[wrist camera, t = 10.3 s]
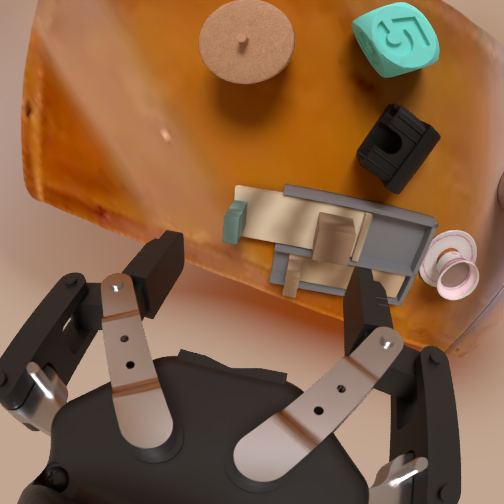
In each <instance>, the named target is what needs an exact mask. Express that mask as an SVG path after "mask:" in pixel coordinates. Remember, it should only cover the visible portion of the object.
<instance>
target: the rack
mask: <svg viewBox="0 0 504 504" xmlns="http://www.w3.org/2000/svg"><path fill="white" fill-rule="evenodd" d="M283 195H288V196H294V197H299V198H305V199H310V200H315V201H320V202H325V203H330V204H335V205H340V206H345V207H350V208H354V209H359V210H364V211H368V212H371V213H372V220H371V223H370V226H369V229H368V232H367V236H366V239H365V242H364V245H363V248H362V251H361V254H360V257H359V260H358V262H356V261H352V259H351V257H350V258H349V261H348V265H353V266H359V267H364V268H369V269H374V270H379V271H384V272H390V273H395V274H400V275H405V276H406V277H405V279H404V281H403V284H402V286H401V288H400V290H399V292H398V294H397V296H396V298H393V297H387V300H388V304H392V305H397V306H401V305H402V303H403V301H404V299H405V297H406V295H407V293H408V291H409V289H410V287H411V285H412V283H413V281H414V279H415V277H416V275H417V273H418V271H419V269H420V267H421V264H422V262H423V260H424V258H425V256H426V253H427V251H428V249H429V246H430V244H431V242H432V239H433V237H434V234H435V232H436V229H437V227H438V223H437V221H436V220H435V218H434V217H432V216H428V215H425V214H421V213H417V212H413V211H410V210H406V209H402V208H398V207H394V206H390V205H386V204H381V203H377V202H373V201H369V200H364V199H360V198H355V197H351V196H346V195H341V194H336V193H331V192H327V191H321V190H316V189H311V188H306V187H300V186H295V185H289V184H285V187H284V191H283ZM274 251H275V253H274V259H273V265H272V271H271V276H270V280H269V283H275V284H280V285H284V283H285V276H286V271H287V266H288V261H289V256H290V254H295V255H301V256H306V257H311V258H312V251H313V249H307V248H302V247H297V246H292V245H286V244H281V243H276V244H275V249H274ZM298 288H301V289H306V290H312V291H317V292H323V293H328V294H334V295H339V296H344V295H345V291H346V289H342V288H336V287H331V286H325V285H320V284H314V283H309V282H304V281H299V285H298Z"/></svg>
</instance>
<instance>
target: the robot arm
mask: <svg viewBox="0 0 504 504" xmlns="http://www.w3.org/2000/svg"><path fill="white" fill-rule="evenodd" d="M498 199H499V203H500V205H501V207H502V209H503V210H504V174H503V176H502V178H501V180H500V183H499V187H498ZM183 267H184V239H183V234H182V233H180V232H174V231H169V230H167V231H165V232H164V234H163V235H162V236H161V237H160V238H159V239H153V240H152V241H150V242H148V243H146V245H145V246H144V247H143V248H142V249H141V251H140V252H139V253H138V254H137V256H136V257H134V259H133V260H132V261H131V262H130V263H129V264H128V266H127V267H126V268H125V269H124V271H123V272H122V273H116V274H112V275H109V276H107V277H106V278H105V279H104V280H103V281H102V283H86V280H85V277H84V275H82V274H81V273H70V274H67V275H65V276H63V277H62V278H61V279H60V280H59V281H58V282H57V284H56V285H55V286H54V287H53V288H52V289H51V291H50V292H49V293H48V294H47V296H46V297H45V298H44V299H43V300H42V302H41V303H40V304H39V306H38V307H37V308H36V309H35V311H34V312H33V313H32V315H31V316H30V317H29V318H28V320H27V321H26V322H25V324H24V325H23V326H22V328H21V329H20V331H19V332H18V333H17V335H16V336H15V338H14V339H13V340H12V342H11V343H10V345H9V346H8V348H7V349H6V351H5V352H4V354H3V355H2V356H1V358H0V403H1V405H2V406H3V407H4V408H5V409H6V410H7V411H8V412H9V413H10V414H11V415H12V416H13V417H14V418H16V419H17V420H18V421H20V422H21V423H23V424H24V425H25V426H26V427H27V428H28V429H30V430H32V431H42V432H44V433H45V434H48V435H49V436H51V450H50V456H49V461H48V464H47V466H46V468H45V469H44V470H43V472H42V473H41V474H40V475H39V476H38V477H37V478H36V479H35V480H34V481H33V482H32V483H30V484H29V485H28V486H27V487H26V488H25V489H24V490H23V492H22V494H21V496H20V498H19V501H18V503H17V504H457V503H458V501H459V499H460V495H461V458H460V440H459V429H458V419H457V410H456V403H455V396H454V389H453V383H452V377H451V372H450V367H449V362H448V358H447V356H446V355H445V353H444V352H443V351H442V350H440V349H439V348H437V347H434V346H427V347H425V348H424V349H423V350H422V351H421V352H419V351H416V350H414V349H412V348H409V347H407V346H405V345H404V344H403V339H402V337H401V336H400V334H399V333H398V332H396V331H395V330H394V329H393V324H392V318H391V313H390V308H389V307H388V306H389V304H388V300H387V294H386V290H385V288H384V287H383V286H382V284H381V283H380V282H379V281H374V279H373V274H372V270H371V269H369V268H364V267H358V266H355V267H354V269H353V272H352V275H351V278H350V280H349V283H348V286H347V289H346V291H345V295H344V300H343V313H344V342H345V343H344V345H345V346H344V348H345V356H344V357H343V358H342V359H341V360H340V361H339V362H338V363H336V365H334V366H333V367H332V368H331V369H330V370H329V371H328V372H327V373H326V374H325V375H324V376H322V377H321V378H320V379H319V380H318V381H317V382H316V383H315V384H313V385H312V386H311V387H310V388H309V389H308V390H307V391H305V392H303V391H302V390H301V389H300V388H298V387H297V386H295V385H293V384H292V383H289V382H287V381H286V378H287V373H282V372H277V371H272V370H267V369H261V368H230V367H227V366H225V365H223V364H221V363H219V362H217V361H215V360H213V359H211V358H209V357H207V356H205V355H200V354H197V353H193V352H189V351H186V350H182V349H181V350H180V352H179V354H178V356H167V357H161V358H158V359H155V360H152V358H151V354H150V351H149V347H148V343H147V340H146V336H145V333H144V329H143V325H142V320H143V318H144V317H147V318H150V319H154V317H155V315H156V313H157V312H158V310H159V309H160V307H161V305H162V304H163V302H164V300H165V298H166V297H167V295H168V294H169V292H170V290H171V289H172V287H173V285H174V284H175V282H176V280H177V279H178V277H179V276H180V274H181V272H182V270H183ZM69 318H71V320H70V322H69V323H68V324H67V326H66V328H65V329H64V330H63V327H64V325H65V324H66V322H67V321H68V319H69ZM98 330H103V337H104V344H105V351H106V357H107V363H108V367H109V374H110V380H111V381H110V382H108V383H106V384H104V385H102V386H100V387H98V388H96V389H94V390H92V391H90V392H88V393H86V394H84V395H82V396H80V397H78V398H76V399H74V400H71V401H69V402H68V403H67V398H68V390H67V387H66V386H67V384H68V382H69V380H70V379H71V377H72V375H73V373H74V371H75V370H76V368H77V365H78V364H79V362H80V361H81V359H82V357H83V355H84V354H85V352H86V350H87V348H88V347H89V345H90V343H91V342H92V340H93V338H94V337H95V335H96V333H97V332H98ZM373 388H375V389H377V390H379V391H382V392H385V393H387V394H389V395H391V435H390V436H391V437H390V456H389V463H387V464H386V465H384V466H383V467H381V469H380V470H379V471H378V473H377V475H376V479H375V482H374V484H373V485H372V487H371V488H368V485H367V482H366V480H365V478H364V477H363V475H362V474H361V473H360V471H359V469H358V468H357V467H356V465H355V464H354V462H353V461H352V460H351V458H350V457H349V455H348V454H347V452H346V451H345V449H344V448H343V446H342V445H341V443H340V442H339V441H338V439H337V438H336V436H335V435H334V432H335V431H336V430H337V428H338V427H339V426H340V425H341V424H342V423H343V422H344V421H345V420H346V419H347V418H348V417H349V416H350V415H351V413H352V412H353V411H354V410H355V409H356V408H357V407H358V406H359V404H360V403H361V402H362V401H363V400H364V399H365V398H366V397H367V395H368V394H369V393H370V392H371V391H372V389H373Z"/></svg>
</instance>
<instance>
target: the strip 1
mask: <svg viewBox="0 0 504 504" xmlns="http://www.w3.org/2000/svg"><path fill="white" fill-rule="evenodd" d="M319 212H323V213H328V214H333V215H338V216H343V217H348V218H353V221H354V226H355V231H356V239H355V242H354V245H353V248H352V252H351V255H350V257H351V259H352V261H356V262H358V260H359V257H360V254H361V251H362V248H363V245H364V242H365V239H366V236H367V232H368V229H369V226H370V223H371V220H372V213H371V212H368V211H364V210H359V209H354V208H350V207H345V206H340V205H335V204H330V203H325V202H320V201H315V200H310V199H305V198H299V197H294V196H288V195H283V192H277V191H272V190H266V189H260V188H253V187H247V186H240V185H237V186H236V187H235V198H234V201H233V203H232V204H231V206H230V208H229V209H228V211H227V212H226V214H225V216H224V227H223V242H226V243H231V244H236V245H237V243H238V241H239V239H240V237H241V236H243V237H248V238H254V239H259V240H265V241H270V242H276V243H281V244H286V245H292V246H297V247H302V248H307V249H313V239H314V235H315V230H316V226H317V221H318V217H319Z"/></svg>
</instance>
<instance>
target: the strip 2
mask: <svg viewBox="0 0 504 504" xmlns="http://www.w3.org/2000/svg"><path fill="white" fill-rule="evenodd" d="M354 267H355V266H353V265H348V264H347V266H342V265H337V264H332V263H327V262H321V261H316V260H312V258H311V257H306V256H301V255H295V254H290V256H289V261H288V266H287V271H286V276H285V283H284V288H283V294H282V295H283V296H288V297H293V298H295V297H296V293H297V289H298V285H299V281H304V282H309V283H314V284H320V285H325V286H331V287H336V288H342V289H347V286H348V283H349V280H350V278H351V275H352V272H353V269H354ZM358 267H359V266H358ZM371 270H372V274H373V279H374V281H379V282H380V283H381V284H382V286H383V287H384V288H385V290H386V294H387V297H393V298H396V296H397V294H398V292H399V290H400V288H401V286H402V284H403V281H404V279H405V277H406V276H405V275H400V274H395V273H390V272H384V271H379V270H374V269H371Z"/></svg>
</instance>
